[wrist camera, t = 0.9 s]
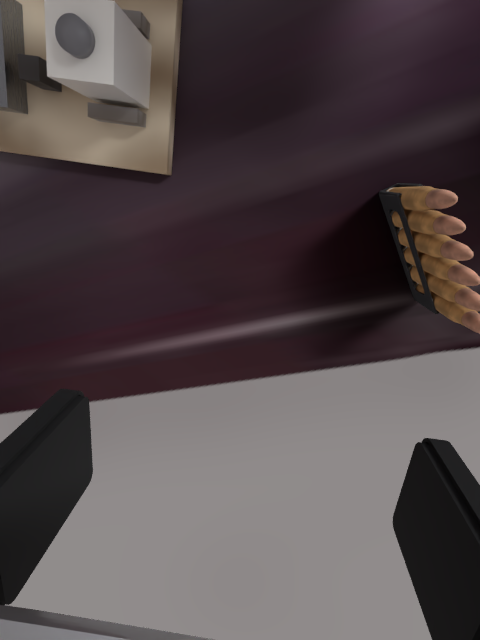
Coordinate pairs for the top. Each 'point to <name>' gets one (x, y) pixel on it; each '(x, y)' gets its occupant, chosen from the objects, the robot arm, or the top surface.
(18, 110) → the frame
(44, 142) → the board
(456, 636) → the robot arm
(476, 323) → the ammunition clip
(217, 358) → the top surface
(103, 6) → the plug
